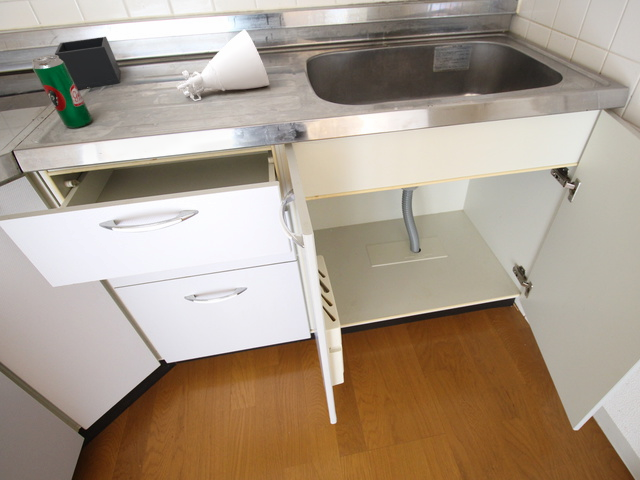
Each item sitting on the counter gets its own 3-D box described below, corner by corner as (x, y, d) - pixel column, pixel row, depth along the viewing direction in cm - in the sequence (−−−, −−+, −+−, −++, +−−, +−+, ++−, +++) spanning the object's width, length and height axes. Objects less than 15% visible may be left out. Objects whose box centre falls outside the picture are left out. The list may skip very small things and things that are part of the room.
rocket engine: (157, 53, 77) (241, 17, 79) (174, 77, 88) (247, 46, 91) (186, 107, 78) (267, 71, 80) (199, 125, 90) (270, 93, 92)
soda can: (92, 126, 77) (58, 60, 68) (64, 131, 75) (25, 64, 67) (94, 116, 80) (62, 52, 72) (67, 121, 79) (31, 56, 71)
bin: (73, 90, 92) (54, 53, 87) (77, 77, 99) (60, 42, 94) (119, 83, 95) (104, 46, 89) (120, 71, 102) (106, 36, 96)
